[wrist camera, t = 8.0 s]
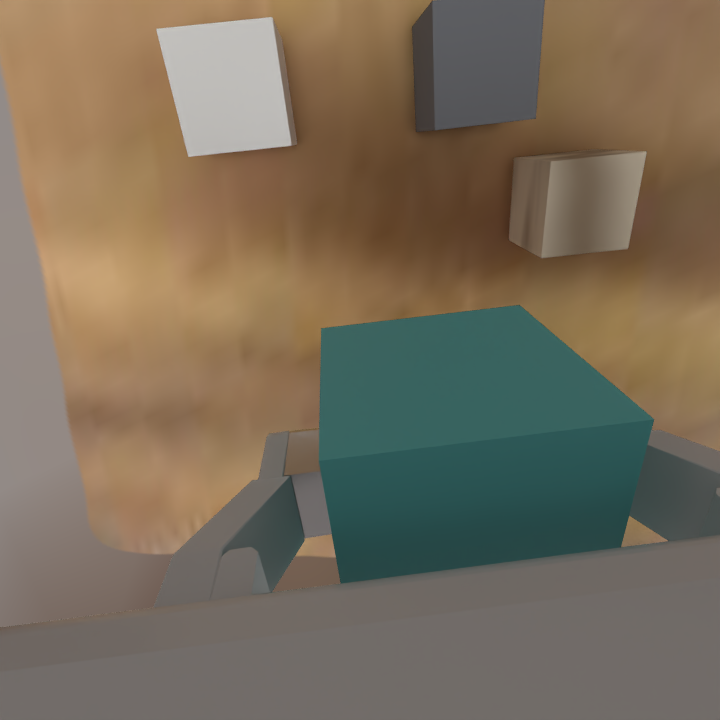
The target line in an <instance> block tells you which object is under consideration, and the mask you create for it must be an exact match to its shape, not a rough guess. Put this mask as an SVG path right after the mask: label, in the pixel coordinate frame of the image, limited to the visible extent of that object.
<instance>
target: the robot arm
mask: <svg viewBox="0 0 720 720" xmlns="http://www.w3.org/2000/svg"><path fill="white" fill-rule="evenodd" d="M629 516H631V517H632V518H634V519H636V520H637V521H639V522H640V523H642V524H643V525H645V526H646V527H648V528H650V529H651V530H653V531H654V532H656V533H657V534H659V535H660V536H662V537H664V538H665V539H667V540H668V541H667V542H659V543H651V544H643V545H635V546H628V547H620V548H612V549H604V550H596V551H588V552H580V553H572V554H565V555H557V556H549V557H542V558H534V559H526V560H519V561H511V562H503V563H495V564H488V565H480V566H472V567H465V568H457V569H449V570H442V571H434V572H426V573H418V574H411V575H403V576H395V577H388V578H380V579H372V580H364V581H357V582H349V583H341V584H333V585H326V586H318V587H310V588H302V589H295V590H287V591H280V592H272V591H273V590H274V588H275V586H276V585H277V583H278V581H279V580H280V579H281V577H282V575H283V574H284V572H285V570H286V569H287V567H288V566H289V564H290V563H291V561H292V560H293V558H294V556H295V555H296V553H297V552H298V550H299V549H300V547H301V545H302V544H303V542H304V541H305V540H304V538H309V537H316V536H322V535H329V534H332V532H331V527H330V521H329V515H328V510H327V504H326V499H325V493H324V488H323V482H322V477H321V471H320V466H319V428H313V429H303V430H293V431H284V432H276V433H269V435H268V436H267V438H266V443H265V448H264V453H263V458H262V463H261V468H260V473H259V478H258V480H252V481H251V482H250V483H249V484H248V485H247V486H246V487H244V488H243V489H242V490H241V491H240V492H239V493H238V494H237V495H236V496H235V497H234V498H233V499H232V500H231V501H230V502H229V503H228V504H226V505H225V506H224V507H223V508H222V509H221V510H220V511H219V512H218V513H217V514H216V515H215V516H214V517H213V518H212V519H211V520H210V521H208V522H207V523H206V524H205V525H204V526H203V527H202V528H201V529H200V530H199V531H198V532H197V533H196V534H195V535H194V536H193V537H192V538H190V539H189V540H188V541H187V542H186V543H185V544H184V545H183V546H182V547H181V548H180V549H179V550H178V551H177V552H176V553H175V554H173V557H172V559H171V562H170V565H169V567H168V570H167V573H166V575H165V578H164V581H163V583H162V586H161V589H160V591H159V594H158V597H157V599H156V602H155V605H154V607H153V608H148V609H139V610H132V611H124V612H116V613H108V614H101V615H93V616H85V617H78V618H69V619H61V620H54V621H46V622H38V623H30V624H23V625H15V626H7V627H0V720H720V451H717V450H714V449H712V448H709V447H706V446H703V445H701V444H698V443H695V442H692V441H689V440H687V439H684V438H681V437H678V436H675V435H673V434H670V433H667V432H664V431H662V430H655V431H653V430H651V433H650V437H649V441H648V445H647V449H646V453H645V456H644V460H643V464H642V468H641V472H640V475H639V479H638V483H637V487H636V491H635V495H634V498H633V502H632V506H631V510H630V514H629Z"/></svg>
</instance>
